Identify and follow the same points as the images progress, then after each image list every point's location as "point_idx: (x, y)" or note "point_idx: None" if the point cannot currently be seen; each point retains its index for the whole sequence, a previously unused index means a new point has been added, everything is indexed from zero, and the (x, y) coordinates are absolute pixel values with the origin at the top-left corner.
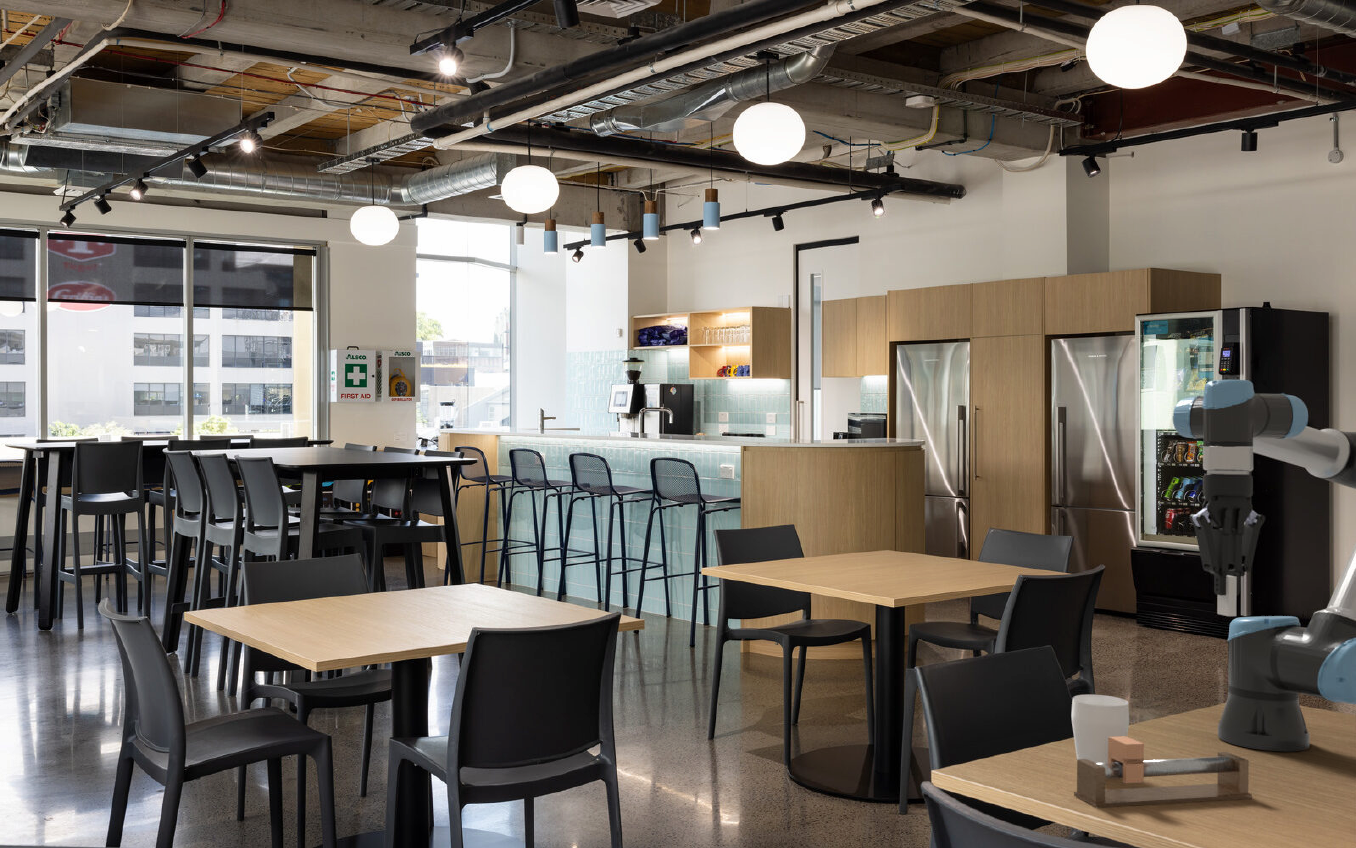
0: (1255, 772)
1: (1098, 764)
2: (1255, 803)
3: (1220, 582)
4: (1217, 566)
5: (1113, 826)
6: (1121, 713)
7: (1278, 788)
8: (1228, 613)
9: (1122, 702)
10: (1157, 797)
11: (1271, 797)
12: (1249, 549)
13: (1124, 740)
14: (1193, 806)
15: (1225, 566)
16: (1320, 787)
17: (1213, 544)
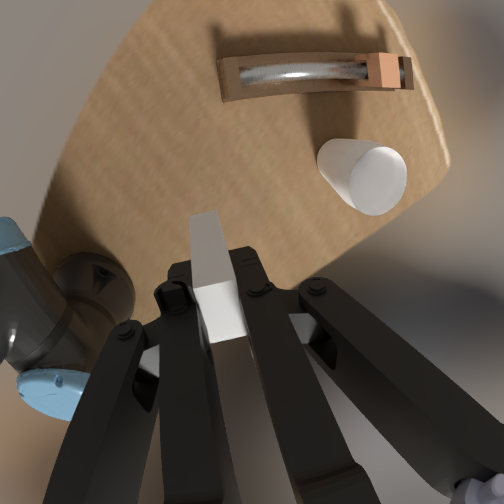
0: (151, 166)
1: (402, 70)
2: (221, 44)
3: (261, 272)
4: (312, 297)
5: (393, 14)
6: (366, 146)
7: (158, 101)
8: (217, 213)
9: (346, 188)
10: (329, 59)
11: (188, 65)
12: (108, 416)
13: (392, 69)
14: (298, 41)
15: (262, 311)
16: (106, 111)
17: (394, 379)
